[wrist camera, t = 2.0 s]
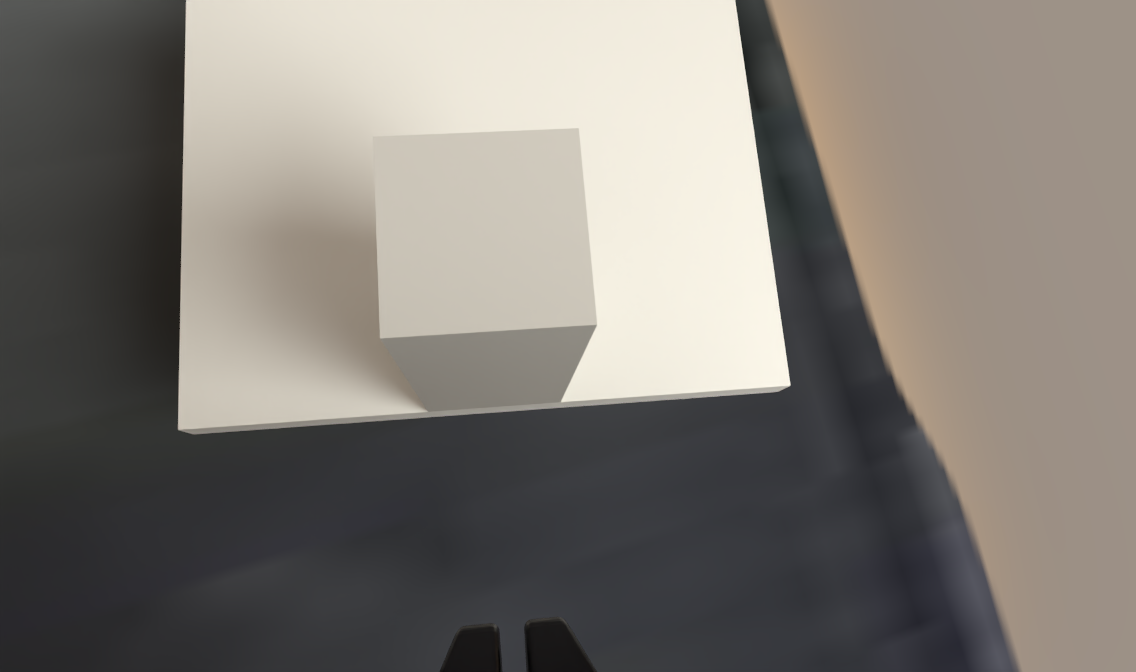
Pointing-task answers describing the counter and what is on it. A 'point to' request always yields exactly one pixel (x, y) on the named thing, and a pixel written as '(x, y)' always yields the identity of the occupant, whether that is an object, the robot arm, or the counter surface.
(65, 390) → the counter surface
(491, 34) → the lid
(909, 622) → the counter surface
